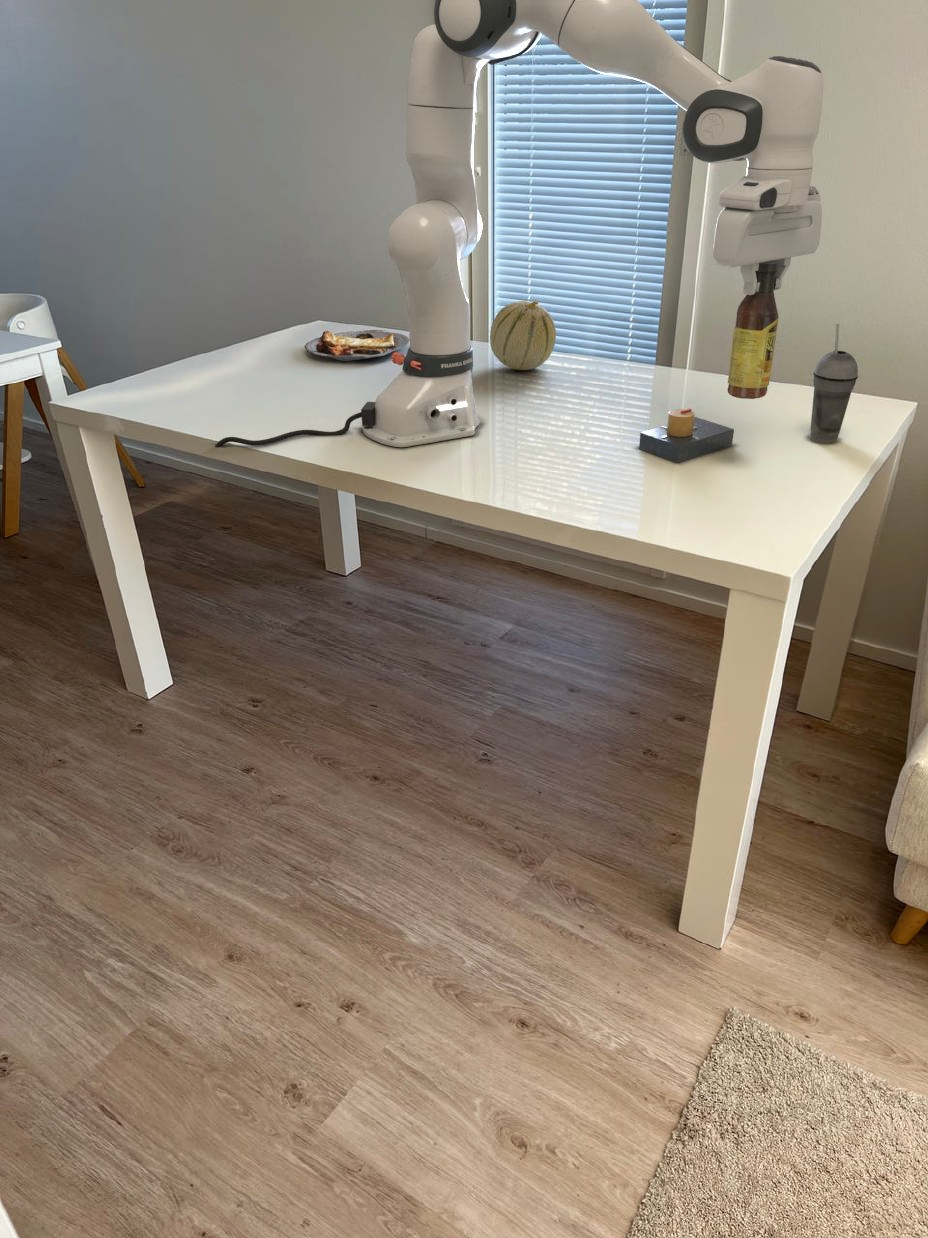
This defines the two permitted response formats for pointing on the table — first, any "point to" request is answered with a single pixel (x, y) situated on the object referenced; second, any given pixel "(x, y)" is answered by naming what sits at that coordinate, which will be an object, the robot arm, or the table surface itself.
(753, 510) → the table surface
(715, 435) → the grey dial panel
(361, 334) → the food plate
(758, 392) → the sauce bottle
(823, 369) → the beverage cup
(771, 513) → the table surface
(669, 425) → the tan cylinder
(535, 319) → the cantaloupe
